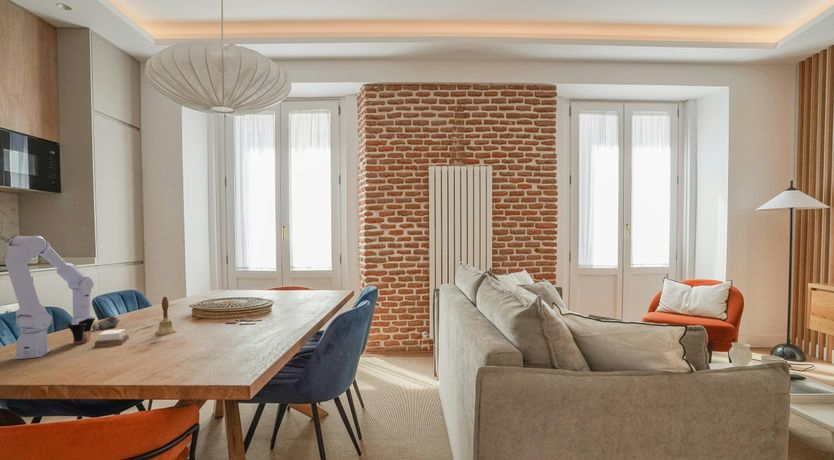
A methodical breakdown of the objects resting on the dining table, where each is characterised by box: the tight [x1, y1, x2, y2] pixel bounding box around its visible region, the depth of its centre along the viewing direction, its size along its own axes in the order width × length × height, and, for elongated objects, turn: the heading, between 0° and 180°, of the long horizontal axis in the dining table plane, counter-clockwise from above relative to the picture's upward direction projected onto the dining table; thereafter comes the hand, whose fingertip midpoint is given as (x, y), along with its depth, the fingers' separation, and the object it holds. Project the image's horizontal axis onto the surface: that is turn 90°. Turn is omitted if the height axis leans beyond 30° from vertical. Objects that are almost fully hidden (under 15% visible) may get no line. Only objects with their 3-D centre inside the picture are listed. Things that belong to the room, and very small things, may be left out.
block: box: [72, 330, 92, 345], centre depth 172 cm, size 4×4×4 cm
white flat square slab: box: [97, 328, 126, 341], centre depth 170 cm, size 7×7×2 cm
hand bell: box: [154, 296, 177, 336], centre depth 187 cm, size 8×8×16 cm
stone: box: [91, 315, 120, 331], centre depth 196 cm, size 10×5×8 cm
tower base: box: [94, 333, 130, 348], centre depth 170 cm, size 9×9×2 cm
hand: (82, 338), depth 172 cm, fingers open, 7 cm apart
